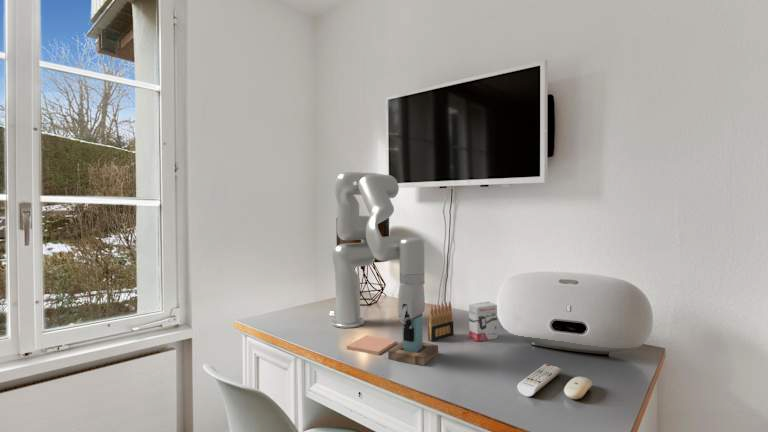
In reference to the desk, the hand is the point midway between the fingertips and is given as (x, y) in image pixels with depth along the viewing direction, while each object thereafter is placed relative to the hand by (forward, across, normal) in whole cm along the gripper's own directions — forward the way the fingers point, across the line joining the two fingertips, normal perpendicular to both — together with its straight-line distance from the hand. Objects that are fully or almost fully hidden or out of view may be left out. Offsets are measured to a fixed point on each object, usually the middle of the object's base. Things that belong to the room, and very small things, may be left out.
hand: (412, 337), depth 121 cm
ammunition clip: (+6, -20, +1) cm, 21 cm away
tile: (+6, -2, -16) cm, 17 cm away
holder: (+6, 0, 0) cm, 6 cm away
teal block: (+3, 0, 0) cm, 3 cm away
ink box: (+6, -26, +14) cm, 30 cm away
